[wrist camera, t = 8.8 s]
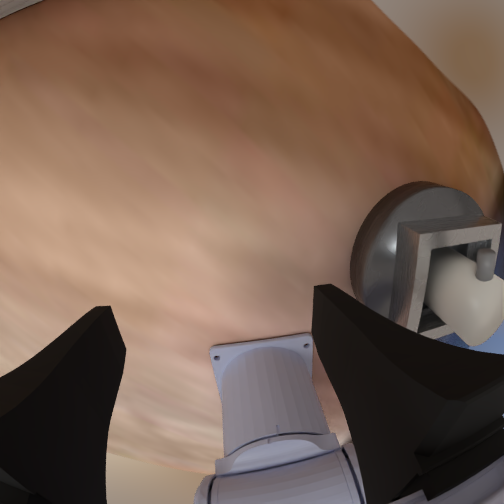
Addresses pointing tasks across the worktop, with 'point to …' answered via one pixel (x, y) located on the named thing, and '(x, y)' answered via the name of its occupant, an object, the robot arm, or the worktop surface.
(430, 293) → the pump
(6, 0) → the supplement box
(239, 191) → the worktop surface
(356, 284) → the square tube on disc
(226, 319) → the worktop surface
